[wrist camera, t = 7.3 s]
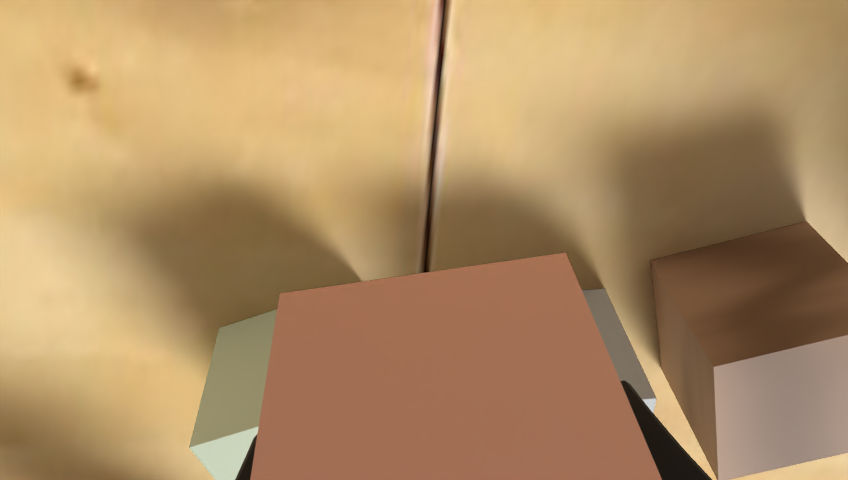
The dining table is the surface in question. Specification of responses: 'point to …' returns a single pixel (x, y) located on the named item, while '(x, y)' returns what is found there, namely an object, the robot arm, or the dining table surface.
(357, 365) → the terracotta cube
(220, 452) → the sage cube
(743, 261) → the walnut cube
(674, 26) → the dining table surface
